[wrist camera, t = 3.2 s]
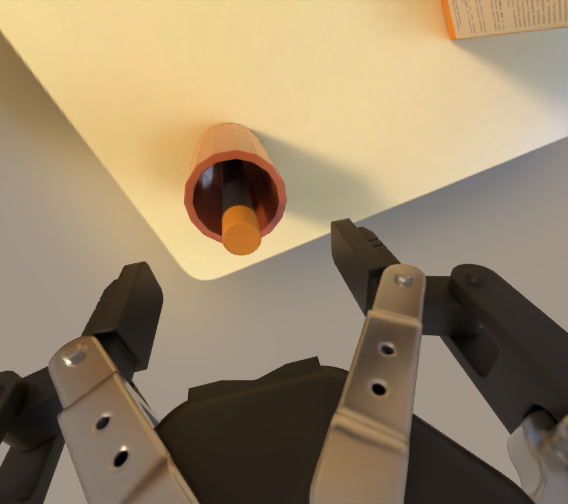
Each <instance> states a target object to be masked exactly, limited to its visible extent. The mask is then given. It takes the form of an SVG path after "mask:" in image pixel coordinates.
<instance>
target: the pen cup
mask: <svg viewBox="0 0 568 504" xmlns="http://www.w3.org/2000/svg"><path fill="white" fill-rule="evenodd" d="M232 159H239V160H242V162H243V166H244V171H245V175H246V179H247V183H248V187H249V191H250V195H251V200H252V204H253V208H254V212H255V214H256V217H257V221H258V225H259V229H260V233H261V238H262V237H264V236H265V235H267V234H269V233H270V232H271V231H272V230H273V229H274V228H275V226H276V225H277V224H278V222H279V221H280V220H281V218H282V216H283V213H284V209H285V206H286V201H287V200H286V192H285V185H284V182H283V180H282V178H281V176H280V174H279V173H278V171H277V169H276V167H275V165H274V164H273V162H272V160H271V158H270V156H269V154H268V153H267V151H266V149H265V147H264V146H263V144H262V142H261V141H260V139H259V137H258V136H257V135H256V134H254V133H253V132H252V131H251V130H249V129H248V128H246V127H244V126H241V125H238V124H233V123H225V124H220V125H217V126H214V127H212V128H211V129H209V130H208V131H207V132H205V134H204V135H203V136H202V137H201V139H200V140H199V142H198V144H197V146H196V149H195V152H194V156H193V159H192V163H191V166H190V170H189V174H188V177H187V181H186V184H185V197H184V204H185V207H186V210H187V212H188V215H189V218H190V220H191V222H192V223H193V224H194V225H195V226H196V227H197V228H198V229H199V230H200V231H201V232H202V233H203V234H204V235H206V236H208V237H210V238H212V239H214V240H216V241H218V242H221V243H223V241H222V217H223V204H222V163H221V162H222V161H227V160H232Z"/></svg>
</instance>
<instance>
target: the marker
mask: <svg viewBox="0 0 568 504" xmlns="http://www.w3.org/2000/svg"><path fill="white" fill-rule="evenodd" d="M221 163H222V204H223V217H222V241H223V245H224V247H225V248H226V249H227V250H228V251H229V252H231V253H232V254H235V255H247V254H250V253H252V252H254V251H255V250H256V249H257V248H258V247H259V245H260V243H261V233H260V229H259V225H258V221H257V217H256V214H255V212H254V208H253V204H252V200H251V195H250V191H249V187H248V183H247V179H246V175H245V171H244V166H243V162H242V160H239V159H232V160H227V161H222V162H221Z"/></svg>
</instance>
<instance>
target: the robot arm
mask: <svg viewBox="0 0 568 504" xmlns="http://www.w3.org/2000/svg"><path fill="white" fill-rule="evenodd" d="M331 246H332V247H331V249H332V256H333V260H334V263H335V265H336V266H337V268H338V270H339V272H340V273H341V275H342V277H343V279H344V280H345V282H346V284H347V286H348V287H349V289H350V291H351V292H352V294H353V296H354V298H355V300H356V301H357V303H358V305H359V307H360V308H361V310H362V312H363V314H364V315H365V317H366V319H365V323H364V326H363V329H362V332H361V335H360V338H359V341H358V345H357V348H356V351H355V354H354V357H353V361H352V364H351V367H350V370H349V371H346V370H344V369H340V368H337V367H332V366H320V363H319V360H318V357H317V356H316V357H312V358H308V359H304V360H300V361H296V362H292V363H288V364H285V365H283V366H282V367H280V368H278V369H276V370H274V371H272V372H270V373H268V374H266V375H264V376H263V377H261V378H259V379H256V380H227V381H226V380H225V381H224V380H221V381H217V382H213V383H209V384H205V385H201V386H197V387H193V388H189V392H188V400H187V401H185V402H184V403H182V404H180V405H179V406H178V407H176V408H175V409H173V410H172V411H171V412H170V413H169V414H167V416H165V417H164V418H163V419H162V420H160V419H159V418H158V416H157V415H156V413H155V412H154V410H153V409H152V407H151V406H150V405H149V403H148V402H147V400H146V399H145V397H144V396H143V395H142V393H141V392H140V390H139V389H138V387H137V386H136V384H135V383H134V382H133V381H132V378H133V374H134V372H138V371H141V370H146V369H147V367H148V363H149V359H150V354H151V350H152V346H153V342H154V337H155V334H156V330H157V325H158V321H159V317H160V313H161V308H162V304H163V293H162V290H161V287H160V286H159V284H158V282H157V280H156V278H155V276H154V275H153V273H152V271H151V269H150V267H149V265H148V264H147V263H146V262H139V263H134V264H130V265H125V266H124V267H123V269H122V272H121V274H120V276H119V278H118V279H116V280H114V281H113V282H112V283H111V284H110V285H109V286H108V287H107V288H106V289H105V290H104V292H103V294H102V296H101V298H100V301H99V302H98V304H97V306H96V309H95V310H94V312H93V314H92V316H91V317H90V319H89V322H88V323H87V325H86V327H85V329H84V331H83V333H82V335H81V337H79V338H76V339H74V340H72V341H71V342H69V343H67V344H66V345H64V346H63V347H62V348H60V349H59V351H57V352H56V353H55V355H54V356H53V357H52V359H51V360H50V362H49V365H48V366H47V367H45V368H43V369H41V370H39V371H37V372H35V373H32V374H30V375H28V376H26V377H24V378H22V377H20V376H19V375H18V374H16V373H15V372H13V371H3V372H0V444H1V442H5V443H6V444H8V445H10V446H11V447H10V449H9V451H8V453H7V455H6V457H5V459H4V461H3V463H2V465H1V467H0V504H43V503H44V500H45V497H46V494H47V491H48V489H49V486H50V483H51V480H52V477H53V474H54V472H55V469H56V466H57V463H58V461H59V458H60V455H61V452H62V450H63V447H64V444H65V442H66V445H67V448H68V450H69V453H70V456H71V459H72V461H73V464H74V467H75V469H76V472H77V475H78V478H79V481H80V484H81V486H82V489H83V492H84V495H85V497H86V500H87V503H88V504H568V333H567V332H566V331H565V330H564V329H562V328H561V327H560V326H559V325H558V324H556V323H555V322H554V321H553V320H552V319H550V318H549V317H548V316H547V315H546V314H544V313H543V312H542V311H541V310H540V309H538V308H537V307H536V306H535V305H534V304H532V303H531V302H530V301H529V300H528V299H526V298H525V297H524V296H523V295H522V294H520V293H519V292H518V291H517V290H516V289H514V288H513V287H512V286H511V285H510V284H508V283H507V282H506V281H505V280H504V279H502V278H501V277H500V276H499V275H498V274H496V273H495V272H494V271H492V270H490V269H488V268H486V267H483V266H480V265H475V264H462V265H458V266H456V267H455V268H453V270H452V272H451V276H425V274H424V273H423V272H422V271H421V270H419V269H418V268H416V267H413V266H411V265H406V264H401V263H400V262H399V261H398V260H397V259H396V257H395V256H394V255H393V254H392V253H391V252H390V251H389V250H388V249H387V247H386V246H385V245H383V243H382V242H381V241H380V240H378V237H377V236H376V235H375V234H374V233H373V232H372V231H370V230H368V229H366V228H364V227H359V228H357V227H356V226H355V225H354V224H353V223H352V221H351V220H350V219H349V218H347V219H343V220H338V221H333V222H331ZM422 335H437V336H440V337H441V339H442V340H443V342H444V343H445V344H446V346H447V347H448V348H449V350H450V351H451V353H452V354H453V355H454V357H455V358H456V359H457V361H458V362H459V364H460V365H461V367H462V368H463V369H464V371H465V372H466V373H467V375H468V376H469V378H470V379H471V380H472V382H473V383H474V384H475V386H476V387H477V389H478V390H479V391H480V393H481V394H482V396H483V397H484V398H485V400H486V401H487V403H488V404H489V405H490V407H491V408H492V410H493V411H494V412H495V414H496V415H497V416H498V418H499V419H500V421H501V422H502V423H503V425H504V426H505V428H506V429H507V430H508V432H509V433H510V434H511V435H510V437H509V439H508V443H507V449H508V453H509V456H510V459H511V461H512V463H513V465H514V467H515V468H516V470H517V473H518V475H519V477H520V481H521V485H522V489H521V488H520V487H519V486H518V485H517V484H515V483H514V482H513V481H512V480H510V479H509V478H508V477H506V476H505V475H503V474H502V473H501V472H499V471H498V470H496V469H495V468H493V467H492V466H490V465H489V464H487V463H486V462H484V461H483V460H481V459H480V458H478V457H477V456H476V455H474V454H473V453H471V452H470V451H468V450H466V449H465V448H464V447H462V446H460V445H459V444H458V443H456V442H455V441H453V440H452V439H450V438H449V437H448V436H446V435H444V434H443V433H442V432H440V431H439V430H437V429H436V428H434V427H433V426H431V425H430V424H428V423H427V422H425V421H424V420H422V419H421V418H419V417H418V416H416V415H415V414H414V413H413V405H414V396H415V388H416V378H417V370H418V362H419V353H420V345H421V344H420V343H421V336H422Z"/></svg>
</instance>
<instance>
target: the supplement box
mask: <svg viewBox="0 0 568 504" xmlns="http://www.w3.org/2000/svg"><path fill="white" fill-rule="evenodd" d="M442 5H443V9H444V14H445V18H446V22H447V27H448V31H449V36H450V39H451V40H459V39H467V38H476V37H486V36H493V35H503V34H511V33H520V32H529V31H537V30H548V29H555V28H565V27H568V0H442Z"/></svg>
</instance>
